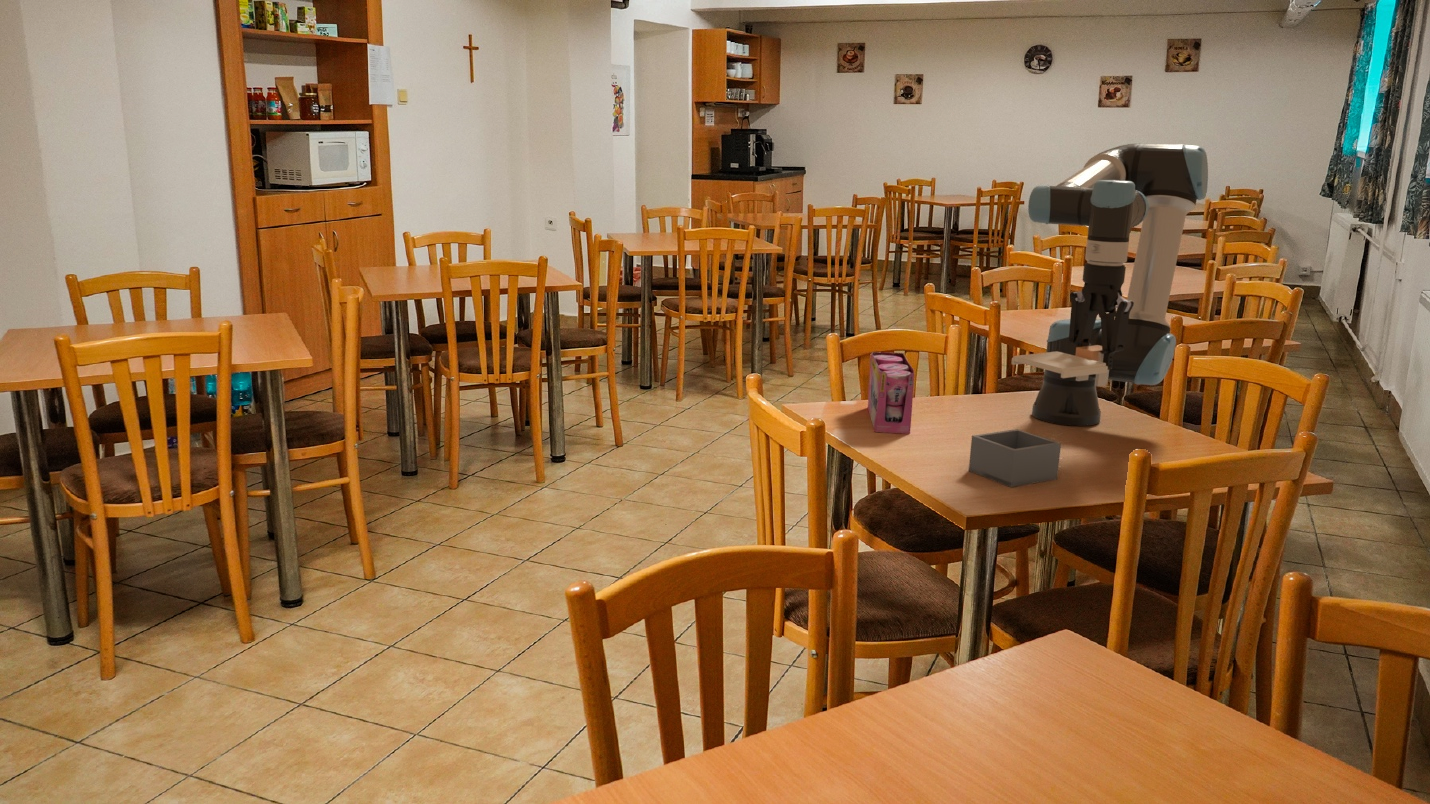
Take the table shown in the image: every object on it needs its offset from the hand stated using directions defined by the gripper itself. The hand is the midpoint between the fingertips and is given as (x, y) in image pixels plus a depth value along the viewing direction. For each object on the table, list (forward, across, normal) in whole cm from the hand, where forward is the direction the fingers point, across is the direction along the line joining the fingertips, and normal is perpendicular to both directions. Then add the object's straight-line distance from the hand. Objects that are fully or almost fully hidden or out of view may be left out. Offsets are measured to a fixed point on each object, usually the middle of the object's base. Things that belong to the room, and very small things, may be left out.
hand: (1091, 382), depth 207 cm
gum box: (+17, -42, -15) cm, 48 cm away
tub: (+16, 0, -19) cm, 25 cm away
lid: (-3, 0, -6) cm, 7 cm away
